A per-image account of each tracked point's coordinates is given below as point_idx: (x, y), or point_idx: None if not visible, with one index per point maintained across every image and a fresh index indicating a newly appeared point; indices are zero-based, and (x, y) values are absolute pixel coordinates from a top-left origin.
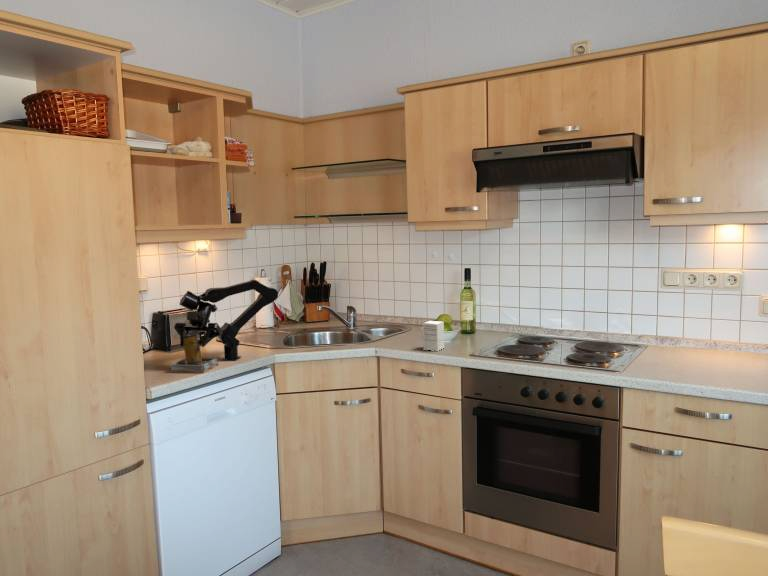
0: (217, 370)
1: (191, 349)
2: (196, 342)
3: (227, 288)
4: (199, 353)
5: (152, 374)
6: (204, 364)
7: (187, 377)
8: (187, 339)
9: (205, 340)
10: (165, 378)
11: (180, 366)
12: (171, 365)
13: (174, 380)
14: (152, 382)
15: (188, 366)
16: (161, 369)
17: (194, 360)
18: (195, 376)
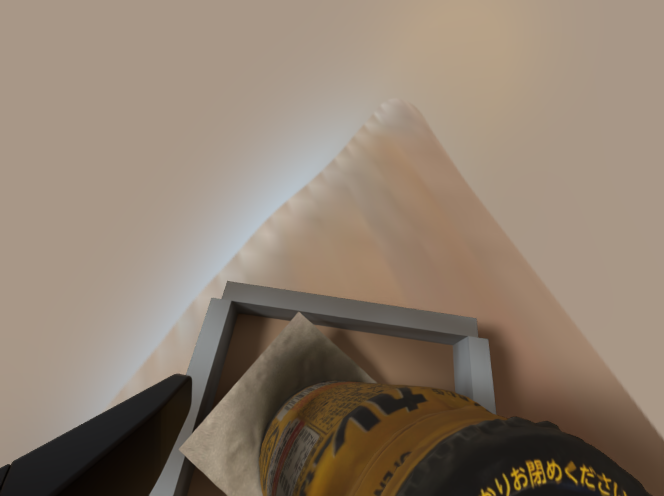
0: (131, 377)
1: (356, 389)
2: (303, 486)
3: None
4: (271, 460)
5: (545, 295)
6: (210, 321)
7: (302, 215)
8: (482, 416)
9: (78, 433)
10: (414, 207)
11: (398, 309)
12: (472, 318)
13: (349, 171)
14: (438, 152)
15: (333, 299)
16: (590, 441)
17: (314, 387)
18: (261, 231)
